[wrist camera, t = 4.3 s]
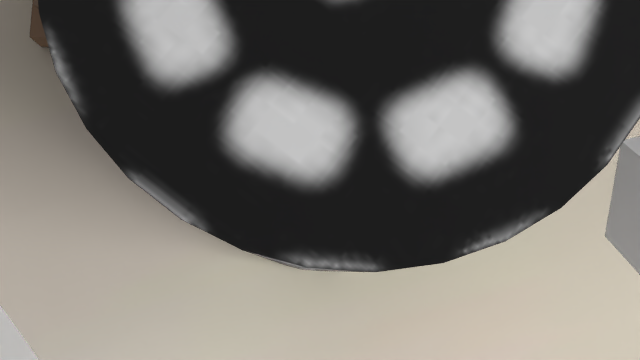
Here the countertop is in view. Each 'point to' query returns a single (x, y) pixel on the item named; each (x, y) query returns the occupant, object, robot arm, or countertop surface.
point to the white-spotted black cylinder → (353, 115)
